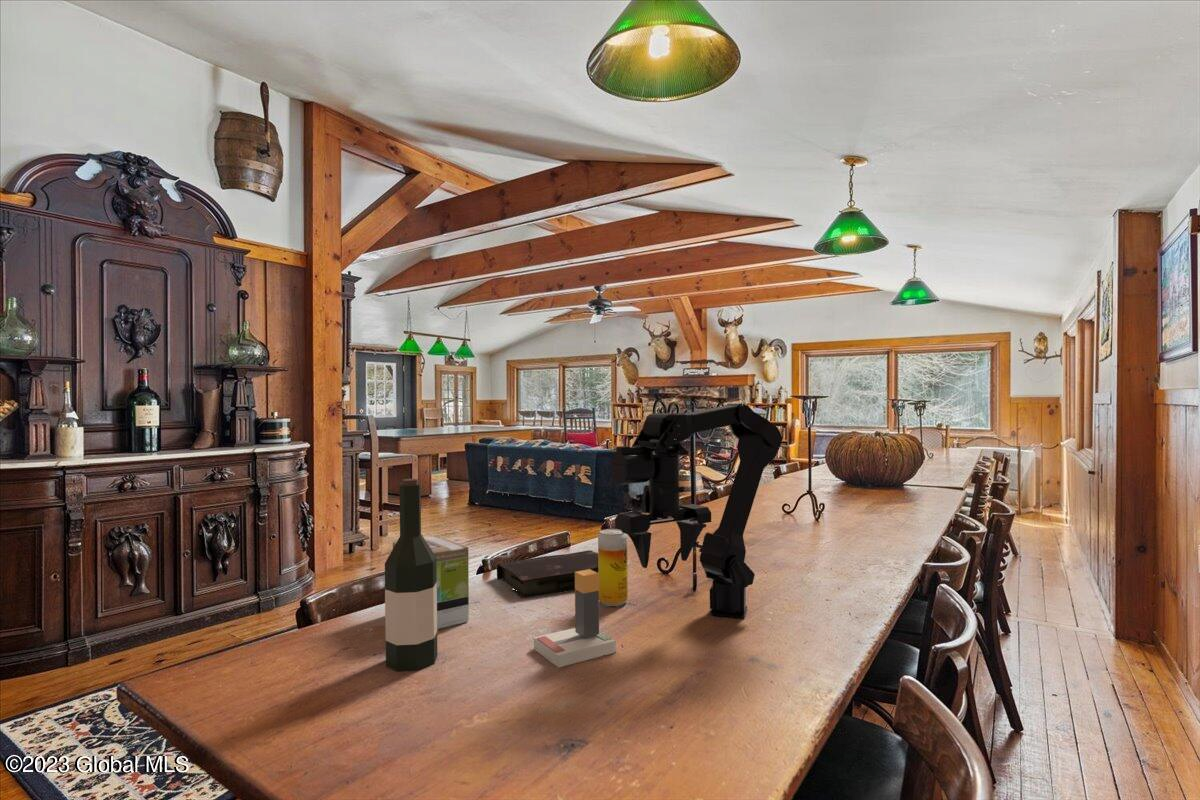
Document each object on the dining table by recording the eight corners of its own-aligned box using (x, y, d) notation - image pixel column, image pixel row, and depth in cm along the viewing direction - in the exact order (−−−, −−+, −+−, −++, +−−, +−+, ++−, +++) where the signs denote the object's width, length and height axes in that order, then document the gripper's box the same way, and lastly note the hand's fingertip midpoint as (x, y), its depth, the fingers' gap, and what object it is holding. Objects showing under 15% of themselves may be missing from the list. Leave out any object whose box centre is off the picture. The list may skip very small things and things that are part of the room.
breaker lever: (590, 628, 113) (589, 569, 113) (599, 634, 110) (598, 573, 110) (575, 632, 111) (574, 571, 111) (584, 637, 109) (583, 575, 109)
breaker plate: (588, 635, 116) (588, 623, 116) (615, 652, 108) (615, 639, 108) (533, 648, 110) (533, 636, 110) (558, 667, 103) (558, 653, 103)
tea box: (471, 622, 124) (470, 545, 124) (421, 634, 118) (420, 554, 118) (437, 603, 136) (436, 533, 136) (391, 613, 129) (390, 540, 129)
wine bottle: (390, 675, 100) (387, 484, 100) (381, 656, 108) (379, 478, 107) (443, 665, 104) (441, 480, 104) (431, 647, 111) (429, 475, 111)
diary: (496, 581, 154) (495, 560, 154) (589, 567, 165) (589, 548, 165) (523, 602, 137) (522, 578, 137) (625, 585, 149) (624, 563, 149)
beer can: (625, 608, 131) (624, 535, 131) (596, 606, 132) (595, 534, 132) (629, 599, 137) (629, 528, 137) (601, 597, 138) (601, 528, 138)
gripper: (676, 472, 131) (676, 548, 131) (598, 479, 121) (599, 561, 121) (713, 478, 122) (713, 560, 122) (632, 486, 112) (632, 575, 112)
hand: (664, 564), depth 120 cm, fingers open, 9 cm apart
